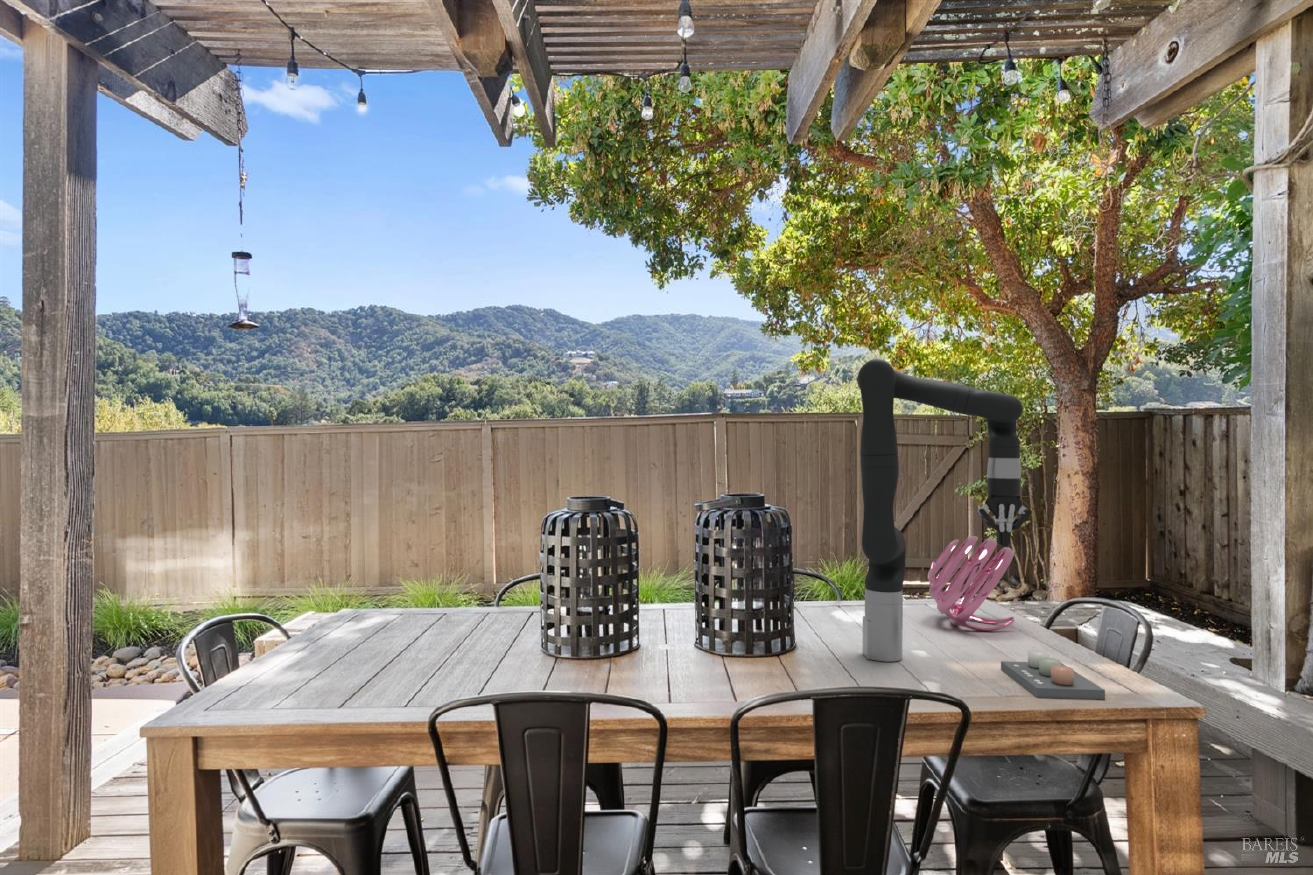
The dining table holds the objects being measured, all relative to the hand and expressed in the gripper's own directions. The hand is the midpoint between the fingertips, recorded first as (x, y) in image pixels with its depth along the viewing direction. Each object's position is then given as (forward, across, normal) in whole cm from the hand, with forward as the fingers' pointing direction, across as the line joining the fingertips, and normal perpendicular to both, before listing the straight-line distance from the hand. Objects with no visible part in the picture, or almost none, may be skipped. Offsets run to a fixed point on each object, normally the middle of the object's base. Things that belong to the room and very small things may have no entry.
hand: (1003, 546), depth 185 cm
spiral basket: (+29, +6, +41) cm, 51 cm away
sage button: (+27, +5, -14) cm, 31 cm away
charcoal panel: (+29, +5, -14) cm, 33 cm away
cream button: (+27, +5, -8) cm, 28 cm away
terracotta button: (+27, +5, -20) cm, 34 cm away
